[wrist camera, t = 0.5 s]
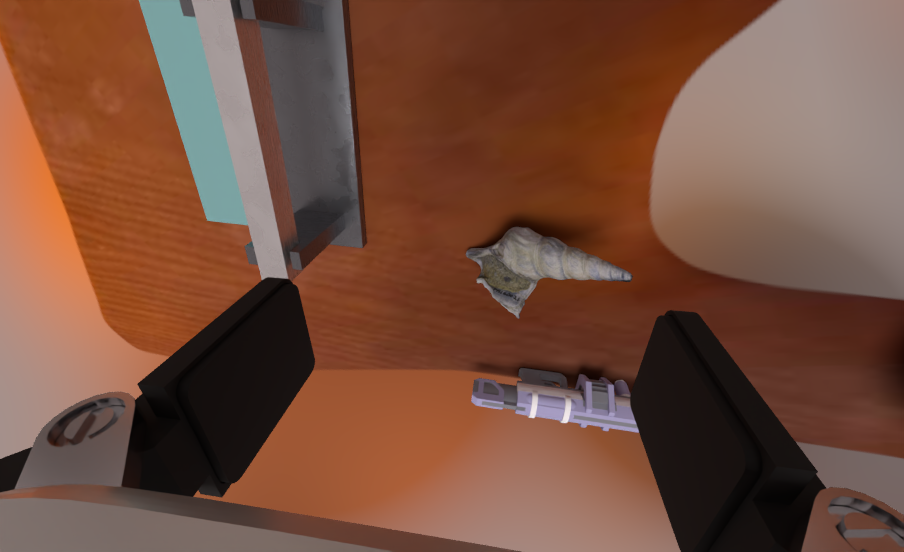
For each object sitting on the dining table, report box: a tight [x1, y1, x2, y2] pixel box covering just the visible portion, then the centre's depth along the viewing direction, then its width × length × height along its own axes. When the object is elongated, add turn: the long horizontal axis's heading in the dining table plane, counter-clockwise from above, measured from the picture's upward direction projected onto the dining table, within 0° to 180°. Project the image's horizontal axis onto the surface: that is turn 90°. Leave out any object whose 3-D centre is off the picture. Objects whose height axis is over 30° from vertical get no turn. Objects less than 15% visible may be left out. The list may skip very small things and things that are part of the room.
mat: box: [139, 0, 248, 225], centre depth 42 cm, size 30×9×1 cm, turn 177°
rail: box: [192, 0, 304, 281], centre depth 33 cm, size 26×3×3 cm, turn 177°
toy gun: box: [472, 368, 639, 432], centre depth 52 cm, size 7×28×8 cm, turn 87°
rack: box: [179, 0, 367, 270], centre depth 37 cm, size 28×10×12 cm, turn 177°
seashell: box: [466, 227, 633, 318], centre depth 42 cm, size 10×17×10 cm, turn 87°
